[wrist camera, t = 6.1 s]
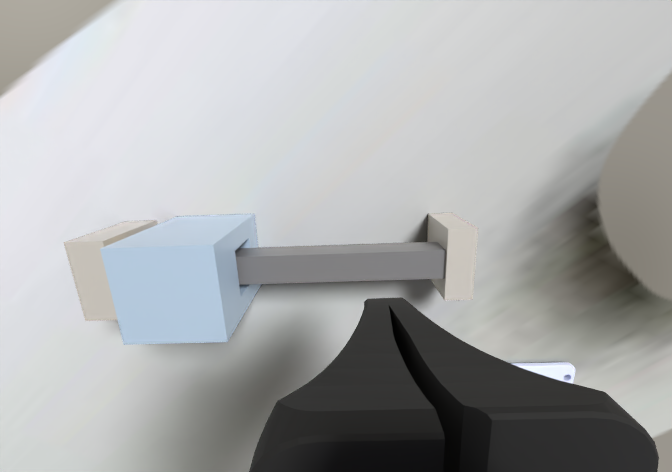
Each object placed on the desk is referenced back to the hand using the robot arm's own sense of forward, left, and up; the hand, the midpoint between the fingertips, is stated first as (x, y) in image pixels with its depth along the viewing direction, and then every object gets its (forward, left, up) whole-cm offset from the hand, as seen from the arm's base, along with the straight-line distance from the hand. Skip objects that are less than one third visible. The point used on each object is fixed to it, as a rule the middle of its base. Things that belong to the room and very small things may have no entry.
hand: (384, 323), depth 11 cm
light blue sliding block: (0, +10, -10) cm, 14 cm away
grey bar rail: (0, +6, -10) cm, 11 cm away
